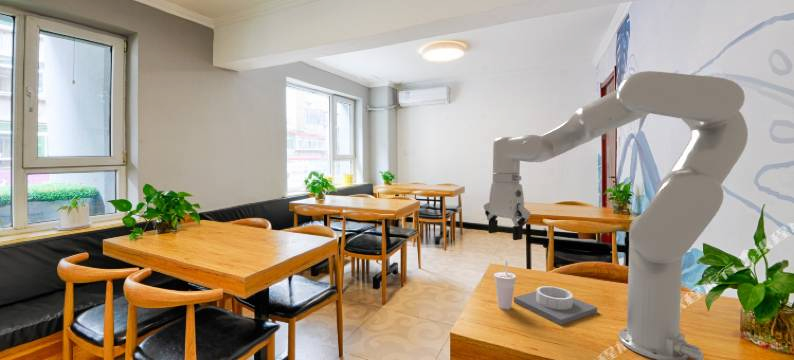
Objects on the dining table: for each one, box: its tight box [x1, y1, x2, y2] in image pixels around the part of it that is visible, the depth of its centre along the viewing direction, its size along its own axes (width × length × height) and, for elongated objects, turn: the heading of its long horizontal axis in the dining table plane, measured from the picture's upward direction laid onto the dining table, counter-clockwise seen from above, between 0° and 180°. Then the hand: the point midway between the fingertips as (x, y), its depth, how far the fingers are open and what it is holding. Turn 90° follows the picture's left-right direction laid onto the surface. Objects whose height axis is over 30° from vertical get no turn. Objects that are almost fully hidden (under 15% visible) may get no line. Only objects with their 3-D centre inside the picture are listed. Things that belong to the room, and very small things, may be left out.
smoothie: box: [493, 260, 517, 310], centre depth 94 cm, size 6×6×14 cm
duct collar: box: [513, 285, 598, 326], centre depth 93 cm, size 16×16×4 cm
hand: (504, 236), depth 93 cm, fingers open, 9 cm apart
